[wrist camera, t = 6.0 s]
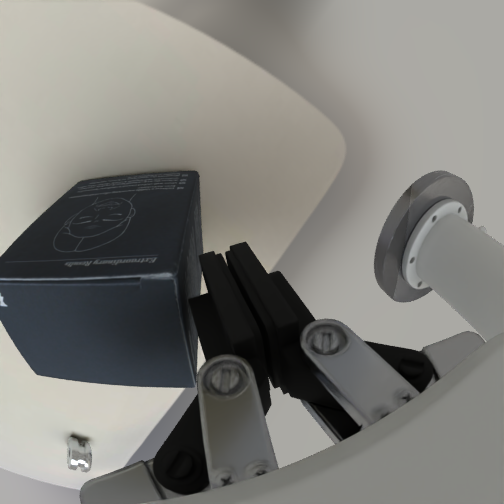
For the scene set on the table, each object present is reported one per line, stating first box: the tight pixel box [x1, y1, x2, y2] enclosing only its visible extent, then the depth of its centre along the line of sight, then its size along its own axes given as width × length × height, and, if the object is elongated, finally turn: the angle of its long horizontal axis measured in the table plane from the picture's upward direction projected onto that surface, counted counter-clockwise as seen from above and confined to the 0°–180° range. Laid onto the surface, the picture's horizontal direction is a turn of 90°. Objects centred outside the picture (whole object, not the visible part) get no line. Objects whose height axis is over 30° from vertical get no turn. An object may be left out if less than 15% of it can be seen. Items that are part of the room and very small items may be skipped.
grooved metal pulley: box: [67, 437, 92, 472], centre depth 27 cm, size 5×3×5 cm, turn 142°
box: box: [0, 171, 203, 388], centre depth 13 cm, size 8×6×11 cm
